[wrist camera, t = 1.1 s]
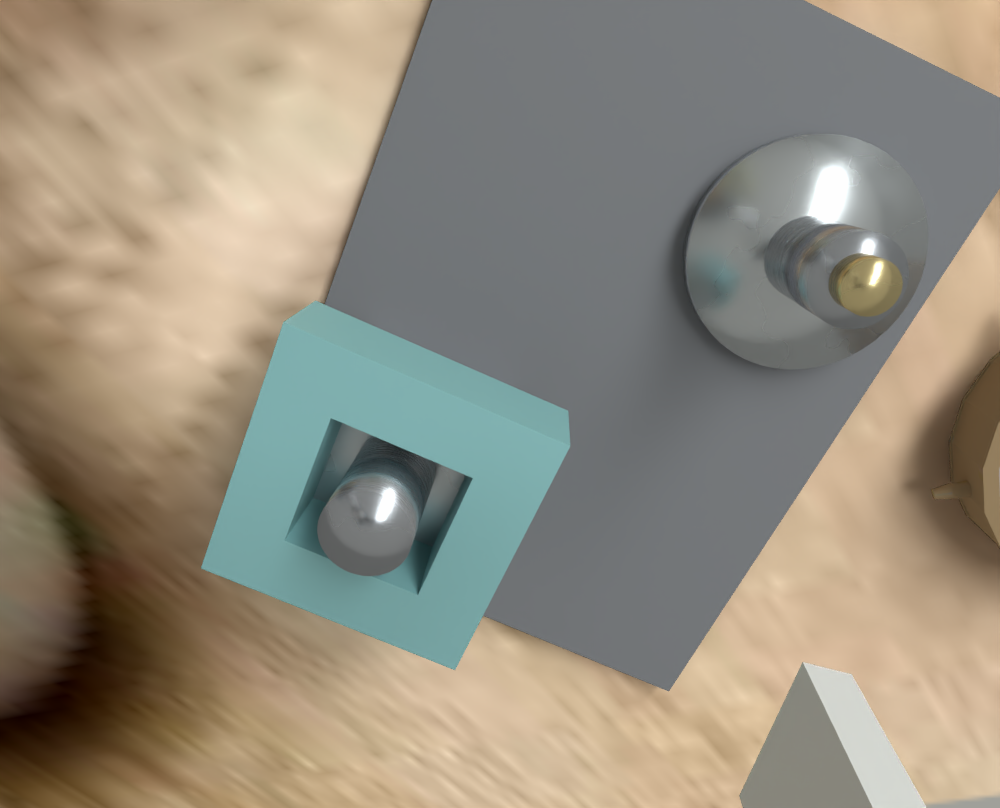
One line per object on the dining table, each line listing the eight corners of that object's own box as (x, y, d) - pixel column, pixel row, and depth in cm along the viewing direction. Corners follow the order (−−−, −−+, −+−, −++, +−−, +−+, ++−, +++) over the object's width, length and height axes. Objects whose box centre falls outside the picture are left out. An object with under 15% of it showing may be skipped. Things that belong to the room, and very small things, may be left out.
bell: (643, 309, 27) (670, 357, 21) (754, 93, 24) (822, 76, 18) (833, 394, 28) (913, 466, 22) (962, 194, 25) (1095, 210, 19)
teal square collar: (237, 523, 27) (201, 568, 24) (315, 300, 24) (283, 322, 21) (464, 615, 27) (454, 670, 25) (568, 410, 24) (570, 446, 22)
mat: (255, 510, 32) (248, 519, 31) (489, -148, 23) (487, -157, 22) (666, 679, 33) (669, 691, 33) (1029, 120, 25) (1044, 120, 24)
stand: (321, 460, 30) (238, 575, 22) (371, 330, 28) (299, 405, 20) (456, 516, 30) (422, 649, 22) (514, 392, 28) (500, 490, 20)
